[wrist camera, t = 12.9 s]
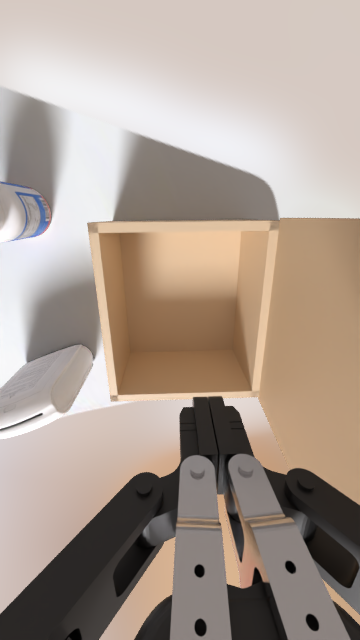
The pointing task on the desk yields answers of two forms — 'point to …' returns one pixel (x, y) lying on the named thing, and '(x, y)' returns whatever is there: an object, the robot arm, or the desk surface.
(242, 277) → the carton
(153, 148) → the desk surface
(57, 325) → the desk surface
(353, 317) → the carton lid
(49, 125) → the desk surface
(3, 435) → the photo printer
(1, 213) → the pill bottle
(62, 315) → the desk surface
